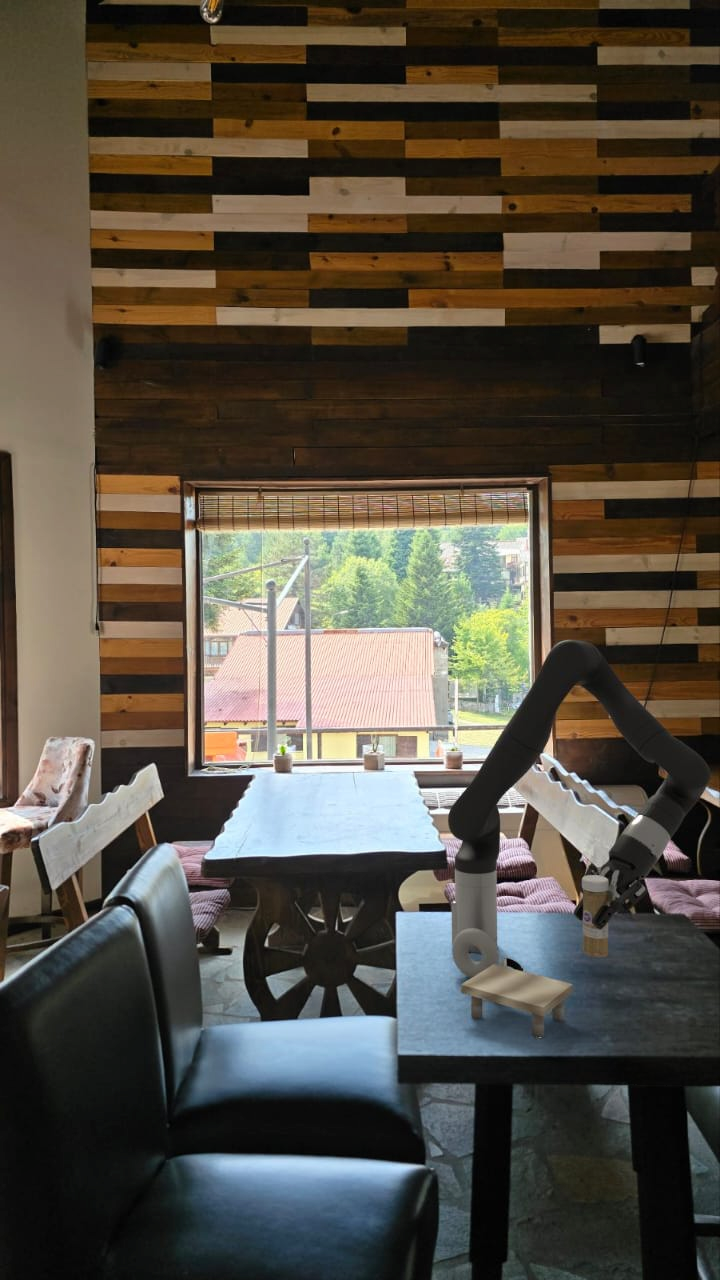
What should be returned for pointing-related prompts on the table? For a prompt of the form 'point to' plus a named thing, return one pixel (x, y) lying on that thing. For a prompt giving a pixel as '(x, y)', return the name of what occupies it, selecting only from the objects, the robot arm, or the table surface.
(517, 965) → the watch
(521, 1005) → the small wooden stool
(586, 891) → the sprinkles bottle
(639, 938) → the table surface
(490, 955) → the donut
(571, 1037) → the table surface
